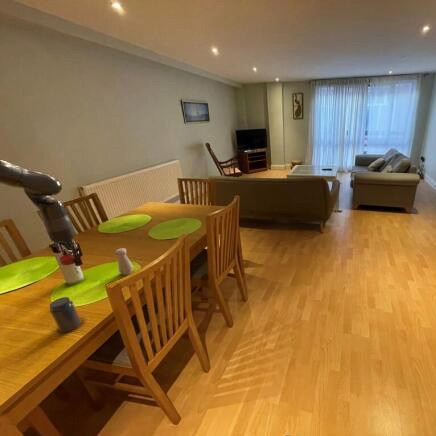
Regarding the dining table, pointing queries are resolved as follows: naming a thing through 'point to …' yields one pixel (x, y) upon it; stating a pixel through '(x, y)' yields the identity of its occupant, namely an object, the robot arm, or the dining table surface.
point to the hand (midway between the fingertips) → (74, 263)
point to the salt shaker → (123, 262)
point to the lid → (67, 259)
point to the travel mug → (68, 269)
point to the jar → (65, 314)
